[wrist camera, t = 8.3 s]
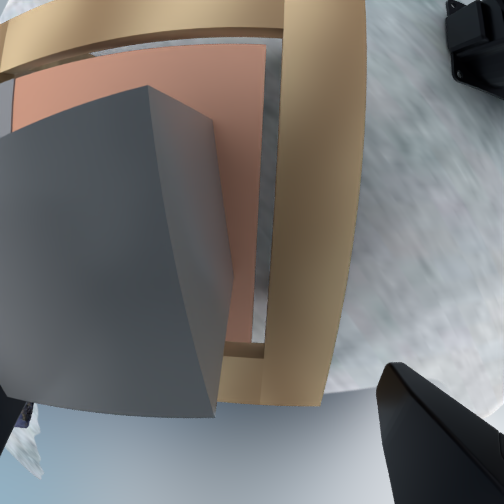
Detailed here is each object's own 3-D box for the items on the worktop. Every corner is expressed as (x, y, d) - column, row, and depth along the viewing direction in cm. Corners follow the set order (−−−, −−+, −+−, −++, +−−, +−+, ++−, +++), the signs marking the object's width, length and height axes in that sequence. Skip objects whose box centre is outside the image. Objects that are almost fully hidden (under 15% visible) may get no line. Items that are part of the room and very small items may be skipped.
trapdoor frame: (321, 47, 15) (363, -23, 7) (302, 304, 20) (320, 406, 12) (71, 61, 16) (-24, 37, 7) (79, 285, 21) (5, 353, 12)
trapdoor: (265, 52, 9) (265, 43, 8) (252, 329, 12) (251, 344, 11) (13, 85, 9) (-2, 84, 8) (31, 303, 12) (19, 312, 11)
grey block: (212, 119, 9) (147, 85, 3) (234, 276, 10) (214, 418, 5) (69, 151, 9) (-72, 179, 3) (100, 288, 11) (7, 396, 5)
